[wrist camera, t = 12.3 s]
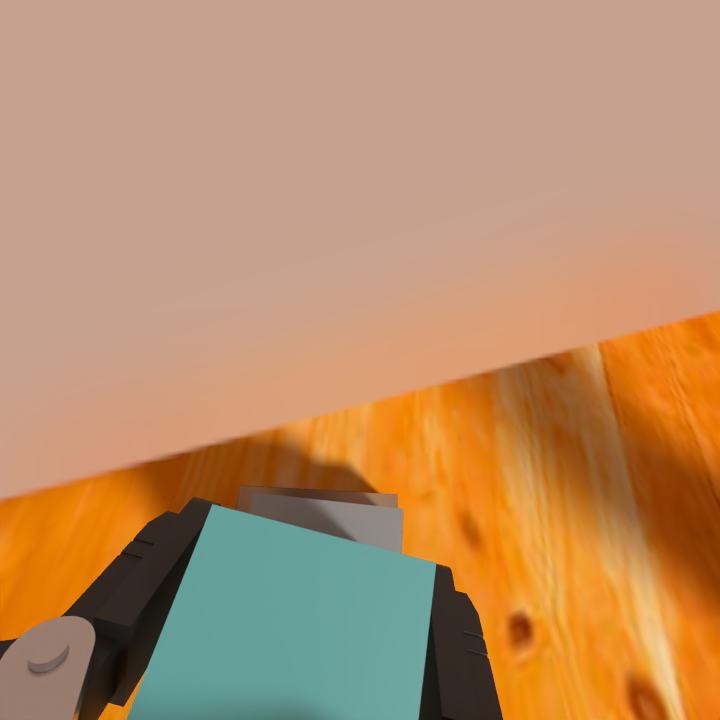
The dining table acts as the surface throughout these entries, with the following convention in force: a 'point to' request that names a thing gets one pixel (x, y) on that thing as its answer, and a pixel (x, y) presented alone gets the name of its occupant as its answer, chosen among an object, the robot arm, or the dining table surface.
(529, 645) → the dining table surface
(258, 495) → the tower top
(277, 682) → the teal column
